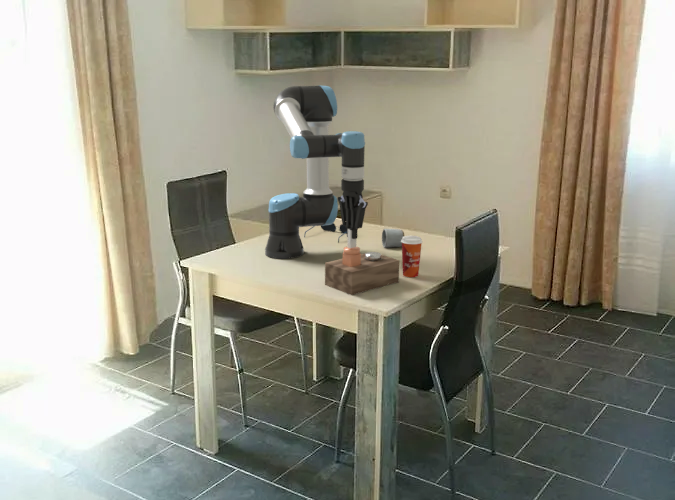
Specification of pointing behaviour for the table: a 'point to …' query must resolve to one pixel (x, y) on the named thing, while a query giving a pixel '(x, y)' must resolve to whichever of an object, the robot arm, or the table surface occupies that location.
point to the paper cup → (411, 255)
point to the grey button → (373, 256)
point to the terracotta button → (351, 256)
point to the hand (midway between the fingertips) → (351, 247)
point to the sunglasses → (333, 229)
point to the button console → (361, 274)
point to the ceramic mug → (392, 237)
